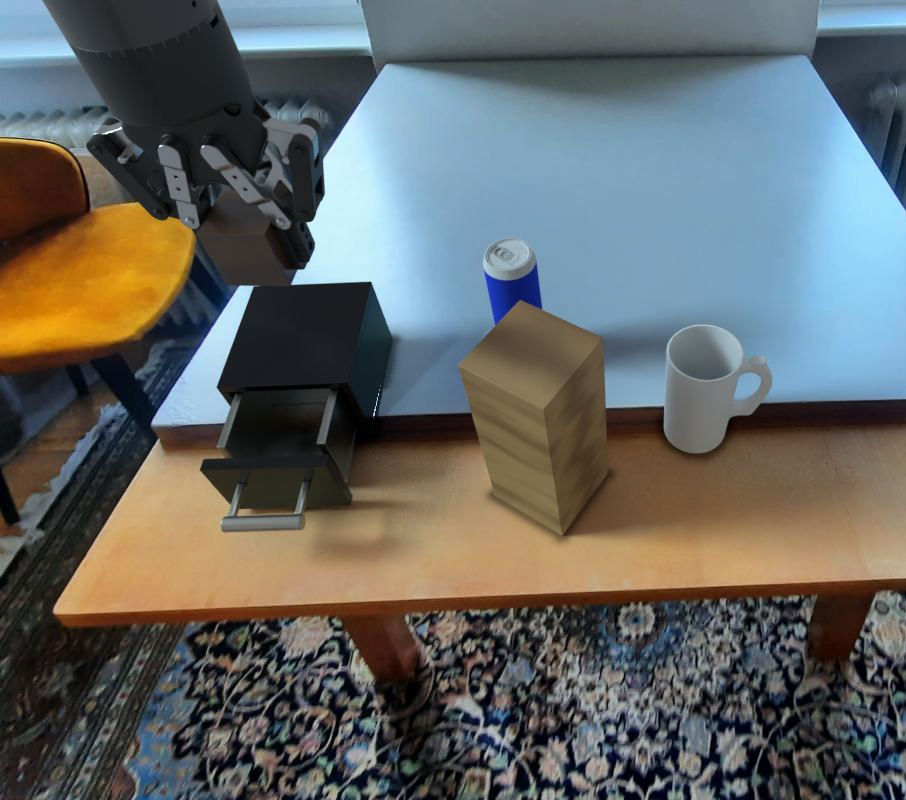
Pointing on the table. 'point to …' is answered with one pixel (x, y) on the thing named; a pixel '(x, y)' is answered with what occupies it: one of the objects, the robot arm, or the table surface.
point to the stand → (540, 413)
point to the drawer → (283, 456)
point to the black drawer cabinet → (312, 345)
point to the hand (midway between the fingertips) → (267, 260)
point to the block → (244, 244)
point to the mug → (707, 386)
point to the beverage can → (511, 276)
